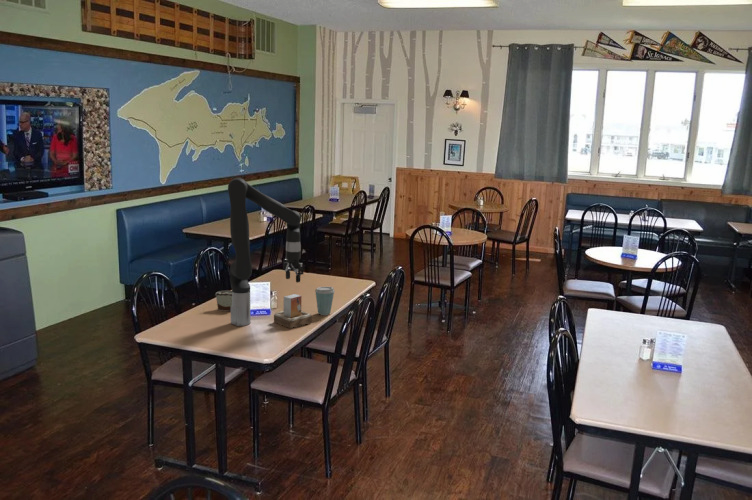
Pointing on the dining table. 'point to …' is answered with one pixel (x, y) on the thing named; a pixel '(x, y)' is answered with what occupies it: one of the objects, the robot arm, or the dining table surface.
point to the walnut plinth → (293, 319)
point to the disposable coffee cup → (324, 299)
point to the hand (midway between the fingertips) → (292, 280)
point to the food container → (224, 300)
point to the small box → (292, 305)
